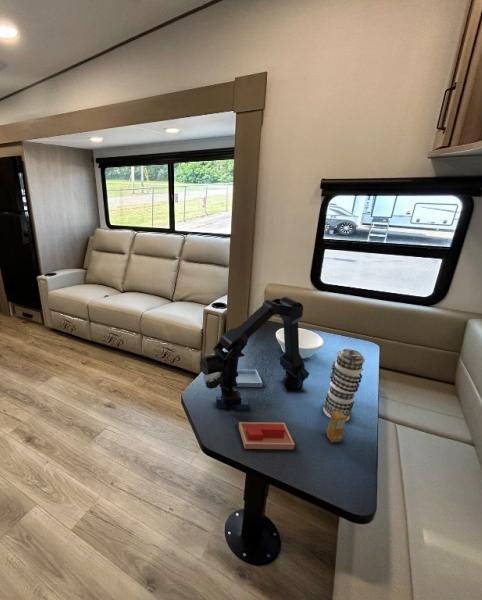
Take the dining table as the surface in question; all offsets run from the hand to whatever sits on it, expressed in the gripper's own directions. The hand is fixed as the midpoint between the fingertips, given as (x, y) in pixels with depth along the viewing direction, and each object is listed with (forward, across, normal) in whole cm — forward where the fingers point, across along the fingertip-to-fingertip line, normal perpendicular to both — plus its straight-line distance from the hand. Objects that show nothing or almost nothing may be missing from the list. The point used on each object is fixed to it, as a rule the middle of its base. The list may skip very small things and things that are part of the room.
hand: (225, 403), depth 116 cm
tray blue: (+1, -16, +9) cm, 18 cm away
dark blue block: (+1, 0, +2) cm, 2 cm away
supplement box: (+1, +15, +32) cm, 36 cm away
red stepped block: (0, +15, +10) cm, 18 cm away
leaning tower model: (+1, +3, +39) cm, 39 cm away
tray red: (+1, +15, +10) cm, 18 cm away
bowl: (+1, -39, +41) cm, 57 cm away
